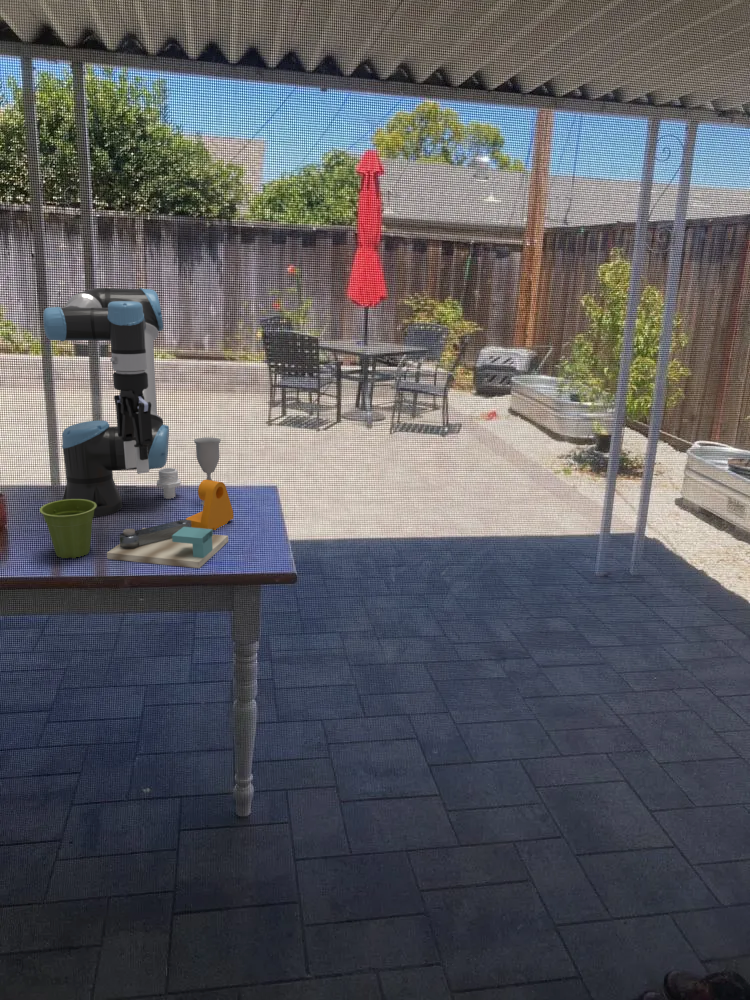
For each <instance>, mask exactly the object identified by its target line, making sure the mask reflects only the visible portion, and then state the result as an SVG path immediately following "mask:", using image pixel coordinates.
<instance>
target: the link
mask: <svg viewBox="0 0 750 1000" xmlns="http://www.w3.org/2000/svg"><path fill="white" fill-rule="evenodd" d="M183 527H192V526H191V521H190V520H186V519H180V520H175V521H171V522H167V523H164V524H163V523H161V524H157V525H153V526H151V527H150V526H149V527H144V528H145V529H142V528H141V529H137V530H136V529H135V534H134V535H131V536H125V535H123V532H122V533H120V534H119V535H118V536H119V544H120V547H121V548H124V549H132V548H136V547H138V546H141V545H145V544H149V543H153V542H157V541H161V540H165V539H169V538H172V535H173V534H175V533H176V532H177V531H179V530H180V529H181V528H183Z"/></svg>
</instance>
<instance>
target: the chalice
mask: <svg viewBox="0 0 750 1000" xmlns="http://www.w3.org/2000/svg"><path fill="white" fill-rule="evenodd" d="M221 441H222V439H221V438H218V437H213V436H211V437H209V436H207V437H205V436H204V437H198V438H194V439H193V442H194V444H195V453H196V454H195V455H196V459H197V462H198V464H199V466H200V469H201V470H202V472H203V473H205V474H206V479H205V480H212V481H213V479H212V476H211V475H212V473H214V472H215V471H216V468H217V465H218V464H219V460H220V443H221ZM200 504H202V505H201V506H204V501H203V500H201V502H200Z"/></svg>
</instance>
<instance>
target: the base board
mask: <svg viewBox="0 0 750 1000" xmlns="http://www.w3.org/2000/svg"><path fill="white" fill-rule="evenodd" d="M145 528H146V527H142V528H141V529H145ZM135 531H136V529H135V528H126V529H123V530H122V533H123V535H125V536H131V535H134V534H135ZM227 543H229V535H224V534H223V535H222V534H214V533H213V536H212V548H213V550H212V551H211V552H210V553H209V554H207V555H206V556H205V557H204V558H201V557H193V544H190V543H179V542H172V538H169V539H165V540H161V541H157V542H153V543H149V544H145V545H141V546H138V547H136V548H132V549H124V548H121V547H120V543H119V544H117V545H116V546H114V547H113V548H112V549H110V550H109V551H107V552H106V557H107V560H115V561H122V562H123V561H126V562H135V563H144V564H154V565H164V566H172V567H173V566H174V567H183V568H192V569H200V568H202V566H204V565H205V564H206V563H207V562H208V561H209V560H210V559H211V558H213V556H214V555H216V553H218V552H219V551H220V550H221V549H222V548H223V547H225V545H226V544H227Z"/></svg>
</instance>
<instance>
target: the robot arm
mask: <svg viewBox="0 0 750 1000" xmlns="http://www.w3.org/2000/svg"><path fill="white" fill-rule="evenodd" d="M42 317H43V319H42V321H43V329H44V334H45V337H46V338H47V339H48V340H50V341H58V342H59V341H60V342H65V341H66V342H67V341H68V342H71V341H72V342H74V341H75V342H76V341H80V342H81V341H94V342H95V341H104V342H105V341H106V342H108V341H110V348H111V349H110V353H111V354H110V355H111V358H110V359H109V360H110V362H111V364H112V370H113V371H115V372H114V373H112V379H113V388H114V389H115V390H117V391H119V394H118V395H114V396H113V400H114V404H115V413H116V415H115V416H116V426H110V424H109V422H108V421H107V420H98V419H97V420H89V421H83V422H79V423H76V424H72V425H69V426H67V427H66V428H65V429H64V430H63V431H62V433H61V436H62V437H61V438H62V445H61V448H62V451H63V459H64V460H63V461H64V468H65V469H64V471H65V478H66V480H65V481H66V482H65V483H66V485H65V488H64V493H63V496H62V500H66V499H85V500H90V501H93V502H95V503H96V505H97V507H96V508H95V509H94V517H93V518H95V517H105V516H107V515H111V514H114V513H116V512H119V511H120V510H122V508H123V499H122V497H121V494H120V492H119V489H118V487H117V485H116V483H115V481H114V475H113V473H114V472H113V471H134V470H135V471H136V474H145V473H146V474H147V473H150V470H154V469H155V470H156V469H163V468H165V466H166V464H167V462H168V455H169V441H170V440H169V438H170V427H169V425H167V424H164V419H163V418H162V417H161V416H160V415H158V411H157V408H158V407H157V405H158V404H157V390H156V389H157V388H156V368H155V349H154V341H155V340H156V339H157V338H158V336H159V332H161V331H163V330H164V320H163V315H162V309H161V304H160V299H159V295H158V293H157V291H155V290H154V289H149V288H143V287H139V288H120V287H119V288H111V287H110V288H107V287H98V288H97V287H96V288H92V289H87V290H84V291H81V292H78V293H76V294H74V295H72V296H71V297H70V298H69V299H68V300H67V301H66V304H65V306H63V307H62V306H61V307H60V306H56V307H52V306H51V307H46V308H45V309H44V310H43V316H42Z"/></svg>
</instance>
